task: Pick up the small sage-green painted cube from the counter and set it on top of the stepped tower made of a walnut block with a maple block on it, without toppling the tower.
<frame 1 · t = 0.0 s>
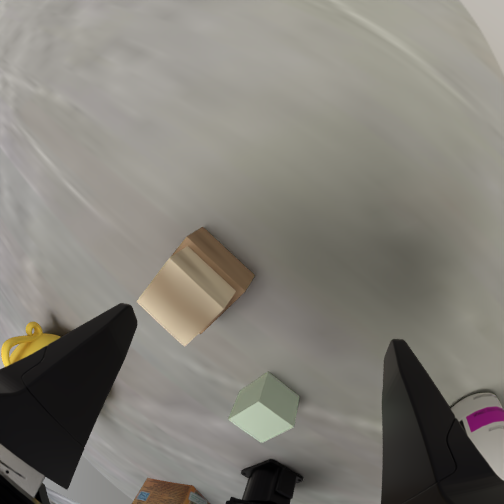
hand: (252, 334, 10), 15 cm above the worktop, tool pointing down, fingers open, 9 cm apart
maple block: (193, 288, 24), point 3 cm above the worktop, touching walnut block
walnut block: (208, 273, 27), on the worktop, touching maple block
supplement can: (467, 412, 25), on the worktop
teapot: (78, 369, 38), on the worktop
sage cube: (269, 393, 30), on the worktop
milk carton: (182, 494, 44), on the worktop
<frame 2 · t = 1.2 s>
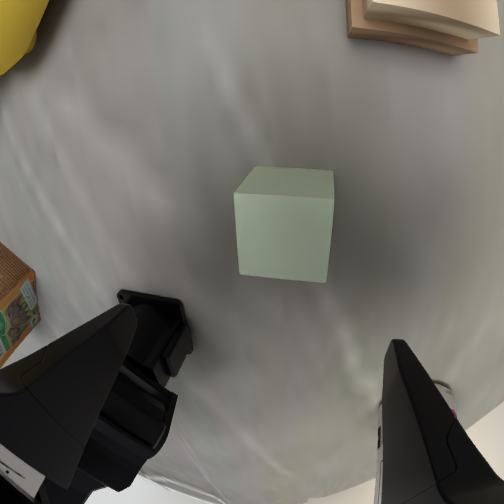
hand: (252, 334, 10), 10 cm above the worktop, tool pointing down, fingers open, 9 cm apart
supplement can: (415, 399, 26), on the worktop
teapot: (20, 14, 14), on the worktop
sage cube: (293, 203, 18), on the worktop
milk carton: (13, 275, 32), on the worktop
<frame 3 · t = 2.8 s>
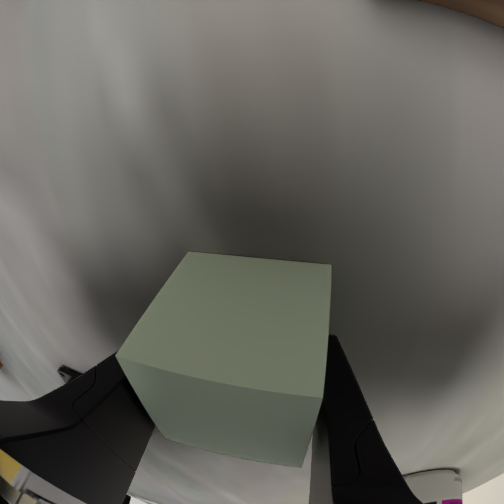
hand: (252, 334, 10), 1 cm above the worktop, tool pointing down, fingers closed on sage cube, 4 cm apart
supplement can: (418, 480, 18), on the worktop
sage cube: (258, 312, 11), on the worktop, touching gripper
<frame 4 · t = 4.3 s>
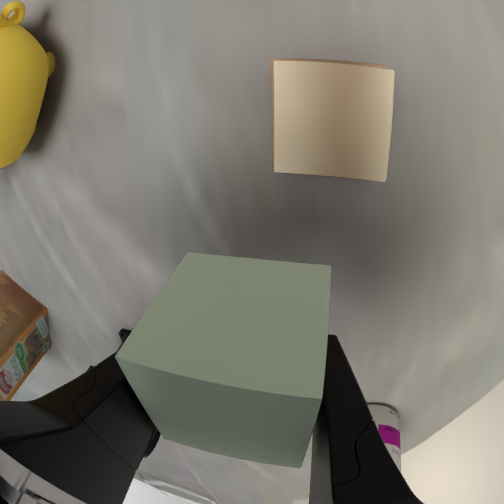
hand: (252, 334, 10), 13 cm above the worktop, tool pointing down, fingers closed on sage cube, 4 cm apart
maple block: (331, 114, 14), point 3 cm above the worktop
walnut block: (328, 110, 17), on the worktop
supplement can: (366, 416, 32), on the worktop
teapot: (18, 97, 20), on the worktop
sage cube: (258, 313, 11), point 12 cm above the worktop, touching gripper
milk carton: (26, 309, 38), on the worktop
when the fingers open (9 cm above the worktop, at t = 5.8 s): sage cube drops 2 cm, point 6 cm above the worktop.
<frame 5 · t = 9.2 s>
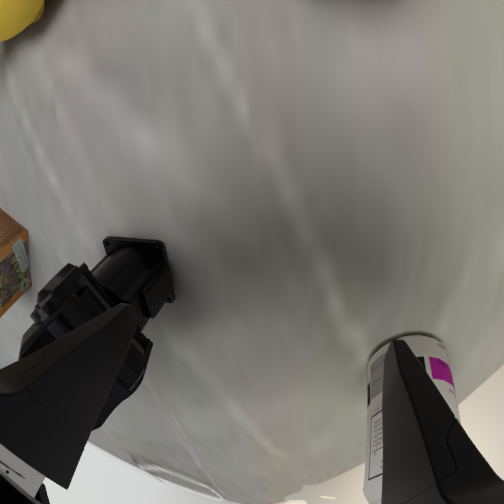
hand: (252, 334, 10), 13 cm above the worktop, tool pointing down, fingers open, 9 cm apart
supplement can: (406, 357, 26), on the worktop
milk carton: (7, 240, 32), on the worktop
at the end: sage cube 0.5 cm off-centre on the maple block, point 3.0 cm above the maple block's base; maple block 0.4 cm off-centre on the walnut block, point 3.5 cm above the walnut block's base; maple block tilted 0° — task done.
